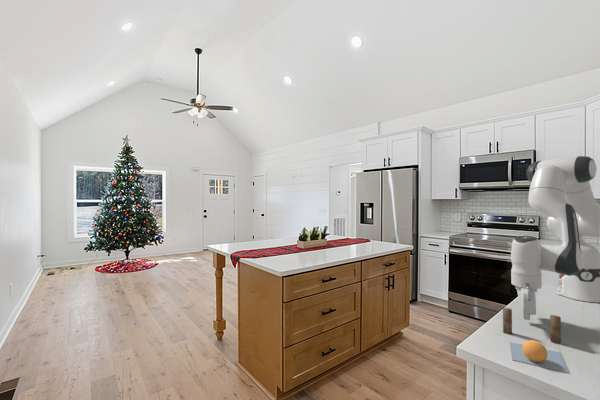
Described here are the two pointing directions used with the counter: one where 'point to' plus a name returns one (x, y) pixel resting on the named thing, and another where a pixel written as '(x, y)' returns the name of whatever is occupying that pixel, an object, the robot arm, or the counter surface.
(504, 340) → the counter surface
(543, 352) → the ball
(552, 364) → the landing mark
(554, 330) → the post
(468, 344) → the counter surface
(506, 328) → the post
